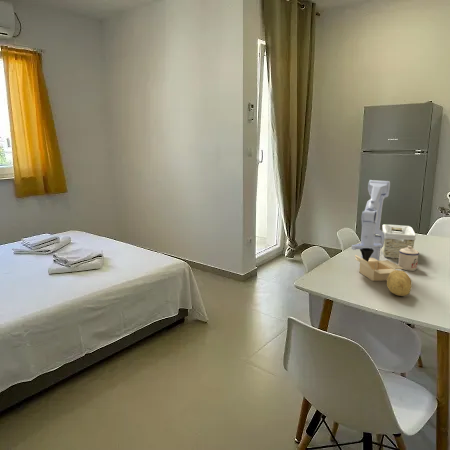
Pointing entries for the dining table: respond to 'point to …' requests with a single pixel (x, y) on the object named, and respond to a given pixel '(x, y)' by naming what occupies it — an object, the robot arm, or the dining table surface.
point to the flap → (363, 262)
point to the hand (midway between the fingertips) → (365, 263)
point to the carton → (378, 269)
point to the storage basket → (397, 239)
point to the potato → (399, 283)
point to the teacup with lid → (408, 258)
